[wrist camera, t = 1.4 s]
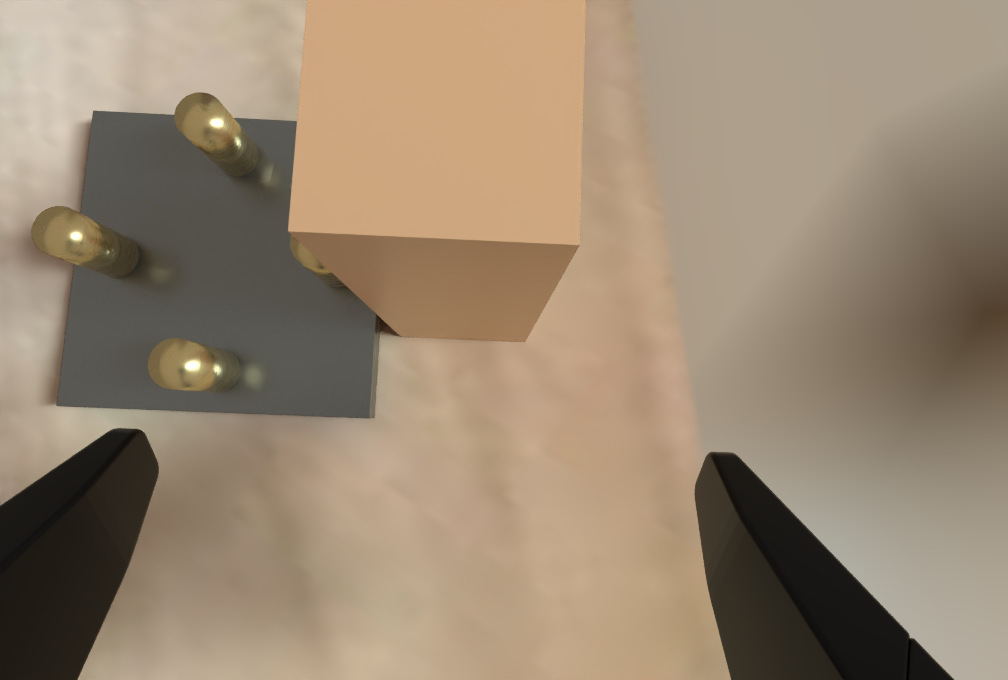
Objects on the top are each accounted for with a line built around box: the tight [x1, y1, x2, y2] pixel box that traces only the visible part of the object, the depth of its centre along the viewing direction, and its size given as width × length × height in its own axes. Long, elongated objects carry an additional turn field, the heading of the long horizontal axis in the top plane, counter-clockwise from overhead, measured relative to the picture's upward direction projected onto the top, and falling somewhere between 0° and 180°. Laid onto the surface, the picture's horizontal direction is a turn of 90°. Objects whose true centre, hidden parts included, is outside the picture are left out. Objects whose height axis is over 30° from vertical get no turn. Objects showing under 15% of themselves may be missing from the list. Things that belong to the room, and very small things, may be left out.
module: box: [288, 0, 586, 342], centre depth 16 cm, size 4×4×13 cm
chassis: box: [32, 93, 381, 418], centre depth 21 cm, size 10×10×4 cm
